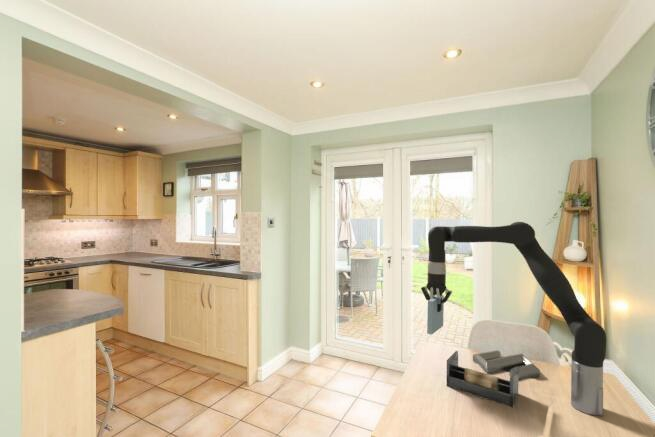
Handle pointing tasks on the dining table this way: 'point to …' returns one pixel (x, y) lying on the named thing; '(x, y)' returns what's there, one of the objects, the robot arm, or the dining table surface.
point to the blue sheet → (434, 316)
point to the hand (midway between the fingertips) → (435, 311)
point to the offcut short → (479, 381)
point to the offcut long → (483, 375)
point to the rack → (503, 395)
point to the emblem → (506, 364)
